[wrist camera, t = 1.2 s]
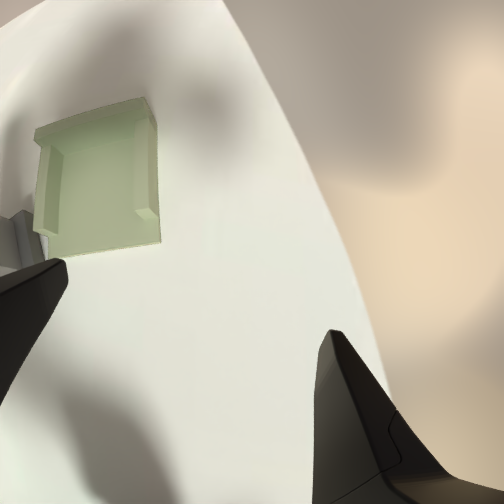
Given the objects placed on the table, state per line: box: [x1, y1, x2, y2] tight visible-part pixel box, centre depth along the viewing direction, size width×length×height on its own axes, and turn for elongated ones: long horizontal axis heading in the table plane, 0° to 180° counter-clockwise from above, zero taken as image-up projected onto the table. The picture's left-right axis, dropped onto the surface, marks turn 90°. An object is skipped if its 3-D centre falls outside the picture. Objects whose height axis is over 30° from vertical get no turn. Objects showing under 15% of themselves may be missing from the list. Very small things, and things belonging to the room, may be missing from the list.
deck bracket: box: [33, 97, 161, 259], centre depth 23 cm, size 11×11×4 cm
